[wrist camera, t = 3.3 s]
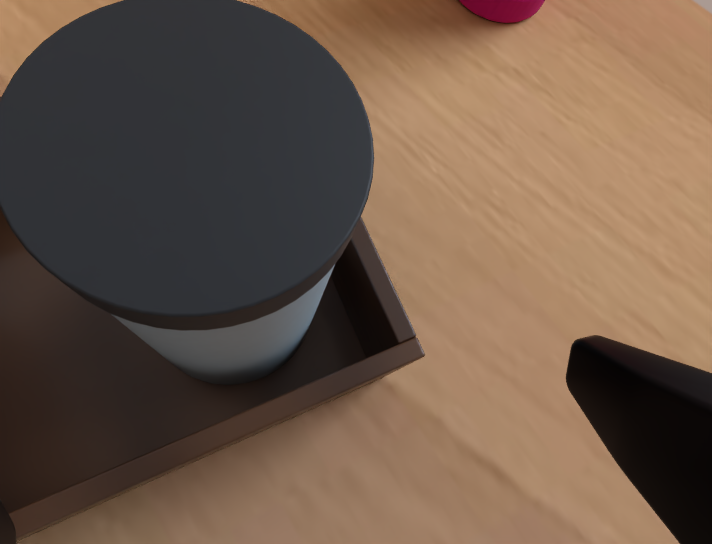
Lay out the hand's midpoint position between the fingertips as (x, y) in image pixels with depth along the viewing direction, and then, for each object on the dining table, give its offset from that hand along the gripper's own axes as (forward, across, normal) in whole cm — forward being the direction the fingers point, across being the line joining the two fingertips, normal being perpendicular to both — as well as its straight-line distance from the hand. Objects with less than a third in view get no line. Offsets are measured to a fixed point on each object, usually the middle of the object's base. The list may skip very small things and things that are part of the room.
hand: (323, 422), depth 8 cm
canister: (+13, +1, +5) cm, 14 cm away
